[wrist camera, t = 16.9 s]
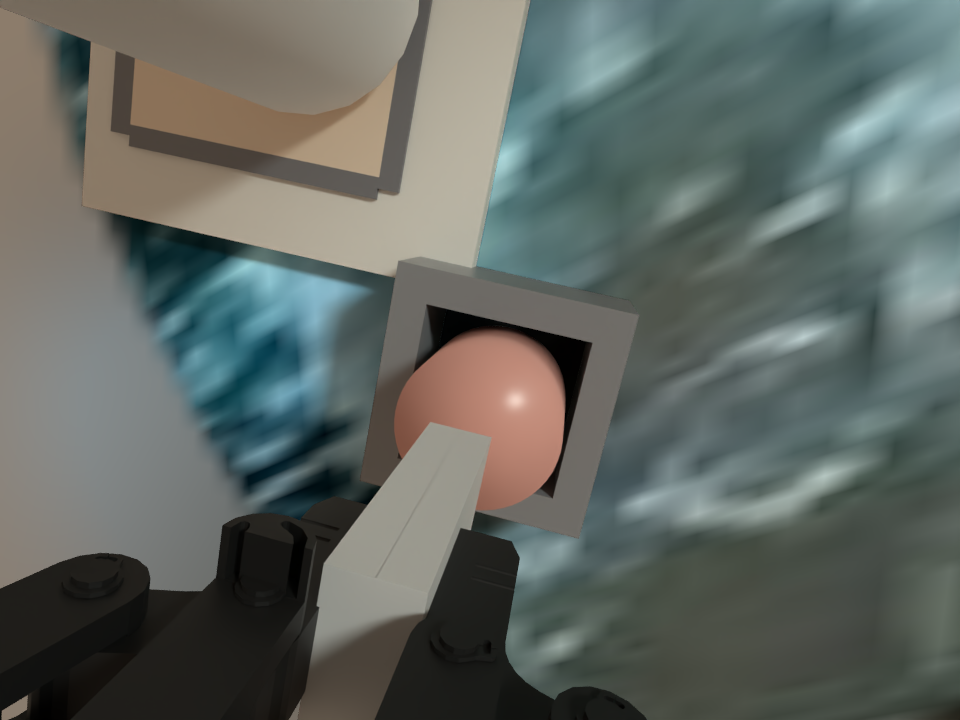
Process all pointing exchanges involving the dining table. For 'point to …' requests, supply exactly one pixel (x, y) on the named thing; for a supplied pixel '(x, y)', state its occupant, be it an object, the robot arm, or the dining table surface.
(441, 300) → the button housing
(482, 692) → the robot arm
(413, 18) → the potion bottle
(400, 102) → the colouring board
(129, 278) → the dining table surface
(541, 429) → the button
